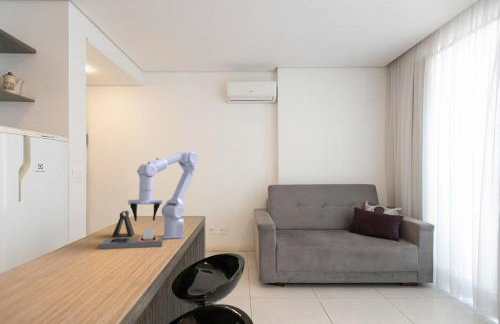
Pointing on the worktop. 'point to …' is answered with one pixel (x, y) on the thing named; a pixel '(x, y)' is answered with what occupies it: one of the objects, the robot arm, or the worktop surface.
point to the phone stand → (127, 224)
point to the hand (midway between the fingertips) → (144, 220)
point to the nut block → (148, 233)
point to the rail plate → (131, 242)
